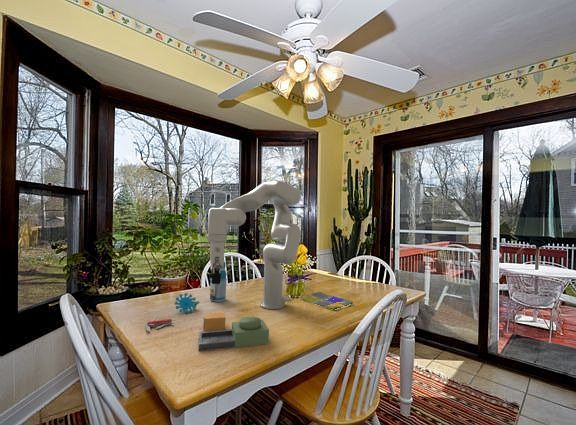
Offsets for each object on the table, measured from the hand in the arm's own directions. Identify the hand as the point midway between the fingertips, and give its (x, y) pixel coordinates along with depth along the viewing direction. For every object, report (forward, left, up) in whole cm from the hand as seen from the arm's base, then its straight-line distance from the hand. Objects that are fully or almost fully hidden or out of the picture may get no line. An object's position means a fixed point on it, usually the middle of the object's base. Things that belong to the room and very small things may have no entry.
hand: (215, 280), depth 116 cm
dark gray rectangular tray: (0, +14, -19) cm, 23 cm away
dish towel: (-60, -22, -20) cm, 67 cm away
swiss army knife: (+20, -7, -19) cm, 28 cm away
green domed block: (-12, +14, -19) cm, 26 cm away
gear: (+11, -22, -19) cm, 31 cm away
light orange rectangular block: (0, 0, -19) cm, 19 cm away
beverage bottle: (-4, -37, -19) cm, 42 cm away
